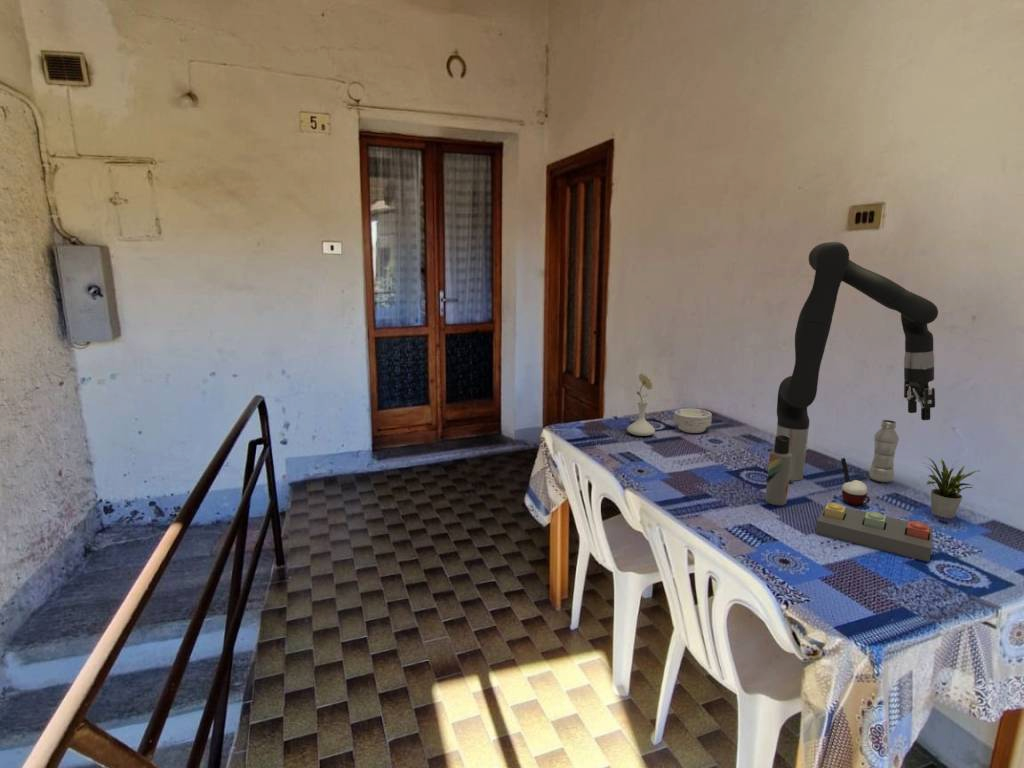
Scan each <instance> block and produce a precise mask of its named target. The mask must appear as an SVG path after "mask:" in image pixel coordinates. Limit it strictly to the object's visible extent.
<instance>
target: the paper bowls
mask: <svg viewBox="0 0 1024 768" xmlns="http://www.w3.org/2000/svg"><path fill="white" fill-rule="evenodd" d="M712 417H713V414H712V412H710V411H708V410H704V409H700V408H678V409H676V410H674V411H673V423H674V424H675V425H677V427H678V429H679V430H680V431H681V430H682V432H685V433H687V434H689V433H690V434H700V433H704V432H705V431H706V429H707V428H709V427H711V426H712V420H713V419H712Z"/></svg>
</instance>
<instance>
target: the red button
mask: <svg viewBox="0 0 1024 768" xmlns="http://www.w3.org/2000/svg"><path fill="white" fill-rule="evenodd" d="M929 526H930V525H928V524H927V523H925V522H921V521H917V520H912V521H910V520H908V528H907V535H908V536H912V537H916V538H920V539H925V540H928V534H929Z"/></svg>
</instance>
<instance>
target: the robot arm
mask: <svg viewBox="0 0 1024 768" xmlns="http://www.w3.org/2000/svg"><path fill="white" fill-rule="evenodd" d="M808 263H809V266H810V267H811V268H812V270H814V272H815V274H814V278H813V283H812V287H811V290H810V293H809V295H808V297H807V298H806V300H805V302H804V304H803V306H802V308H801V311H800V312H799V316H798V319H797V323H796V327H795V333H794V354H795V355H794V356H795V358H794V359H795V361H794V367H793V371H792V374H791V375H790V376H788V377H787V376H786V377H785V378H784V379H783V380H782V381H781V382H780V384H779V387H778V391H777V392H778V393H777V399H776V400H777V403H776V416H777V424H776V434H775V435H776V436H775V437H777V436H779V435H783V436H787V437H788V438H790V445H789V453H791V454H792V459H791V468H790V477H789V481H790V482H791V481H792V482H793V481H795V482H796V481H801V480H803V478H804V473H805V461H806V455H807V446H808V445H807V444H808V436H809V429H810V417H809V415H808V407H810V406H811V405H812V404H813V402H814V401H815V399H816V396H817V392H818V383H819V376H820V369H821V365H822V360H823V358H824V357H823V356H824V353H825V350H826V346H827V341H828V338H829V335H830V332H831V326H832V321H833V316H834V312H835V309H836V303H837V299H838V293H839V291H840V286H841V284H842V282H843V283H845V284H847V285H848V286H850V287H852V288H854V289H855V290H858V292H860V293H862V294H864V295H865V296H867V297H869V298H870V299H871V300H874V301H875V302H877V303H878V304H880V305H882V306H884V307H885V308H887V309H889V310H894V311H896V312H898V313H899V314H900V320H901V325H902V330H903V334H904V356H903V357H904V358H903V362H904V363H903V378H904V379H903V380H904V382H903V383H904V384H903V397H904V399H906V401H907V412H908V413H909V414H915V413H917V411H918V409H917V408H918V407H917V406H918V403H919V405H920V420H922V421H929V420H931V409H933V408H935V407H936V390H935V388H934V387H929V383H930V382H933V381H934V380H935V353H934V336H933V333H932V332H931V331H930V330H929V327H928V324H930V323H933V322H934V321H935V320H936V319H937V318H938V315H939V309H938V307H937V305H936V304H935V303H934V302H932V301H931V300H929V299H928V298H925V297H923V296H920V295H919V294H916V293H914V292H911V291H909V290H908V289H906V288H905V287H903V286H901V285H900V284H898V283H896V282H895V281H893V280H891V279H889V278H888V277H885V276H884V275H881V274H879V273H877V272H875V271H872V270H870V269H868V268H865V267H863V266H861V265H859V264H857V263H856V262H854V261H852V260H851V259H850V251H849V249H848V247H847V246H846V245H845V244H844V243H842V242H839V241H829V242H824V243H820V244H818V245H817V244H816V245H815V246H814V247H813V248H812V249H811V251H810V252H809V255H808ZM773 450H774V447H773V448H772V451H773Z"/></svg>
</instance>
